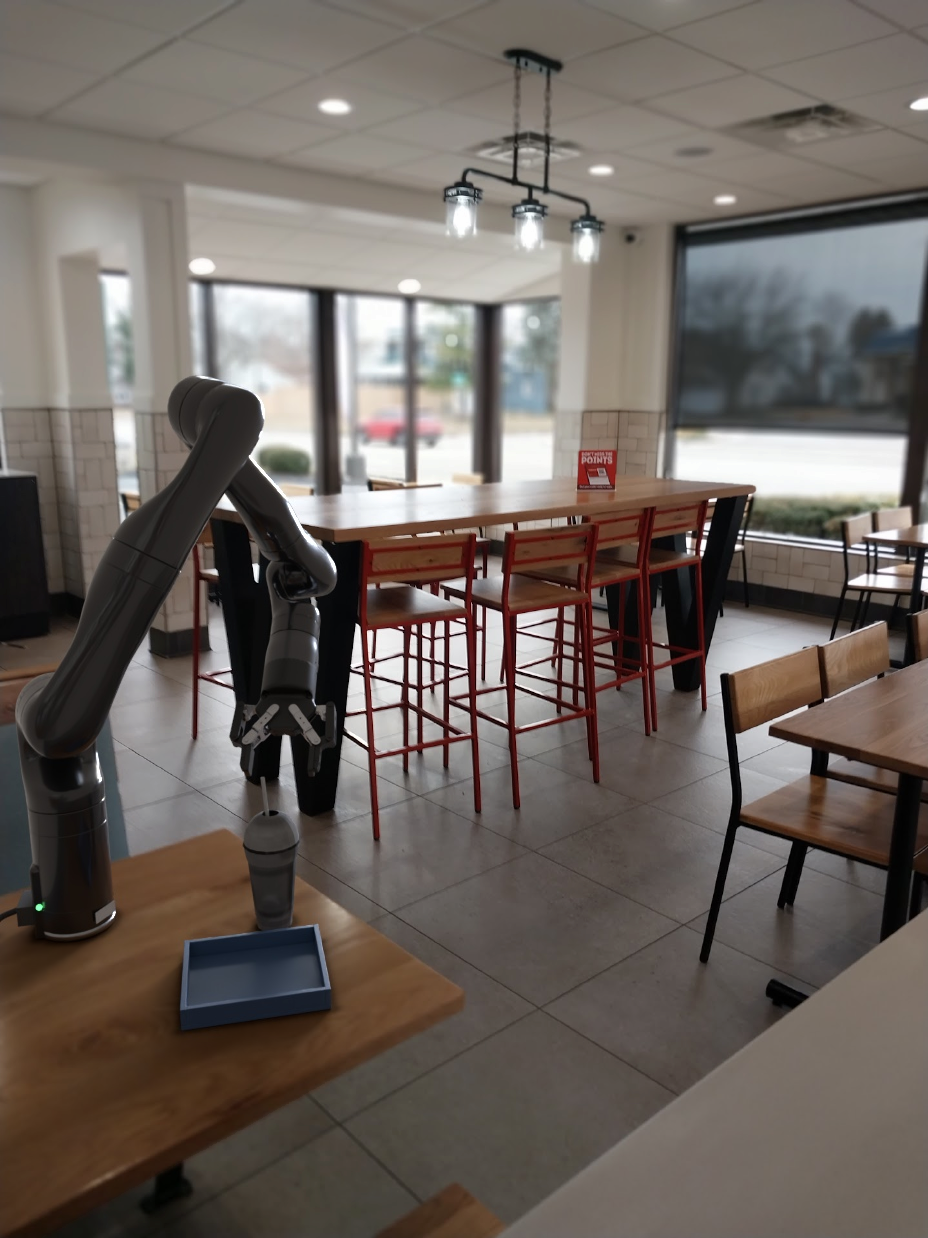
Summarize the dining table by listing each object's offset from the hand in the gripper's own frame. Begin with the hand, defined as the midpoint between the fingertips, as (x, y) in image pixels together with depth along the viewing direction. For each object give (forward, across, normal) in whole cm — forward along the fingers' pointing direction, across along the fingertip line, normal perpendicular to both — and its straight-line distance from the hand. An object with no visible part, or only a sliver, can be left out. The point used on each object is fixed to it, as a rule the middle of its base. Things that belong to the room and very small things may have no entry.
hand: (279, 774), depth 127 cm
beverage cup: (+18, 0, +8) cm, 19 cm away
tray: (+27, 0, -2) cm, 27 cm away
